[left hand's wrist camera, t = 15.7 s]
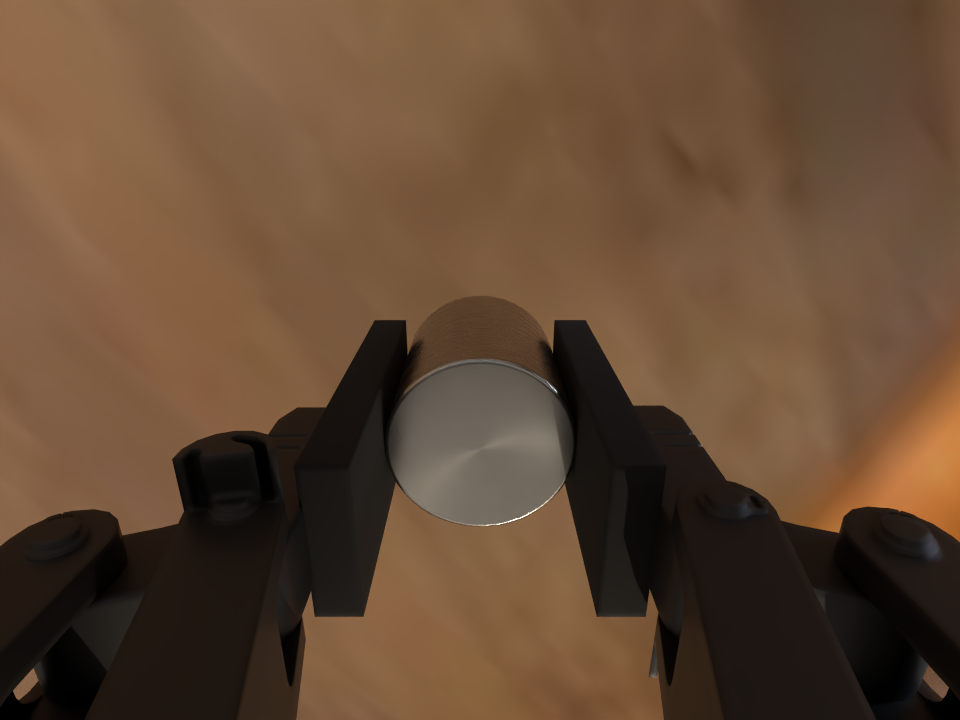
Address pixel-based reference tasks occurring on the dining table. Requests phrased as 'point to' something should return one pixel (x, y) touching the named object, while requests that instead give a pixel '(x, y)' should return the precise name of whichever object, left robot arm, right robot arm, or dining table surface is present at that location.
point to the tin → (480, 416)
